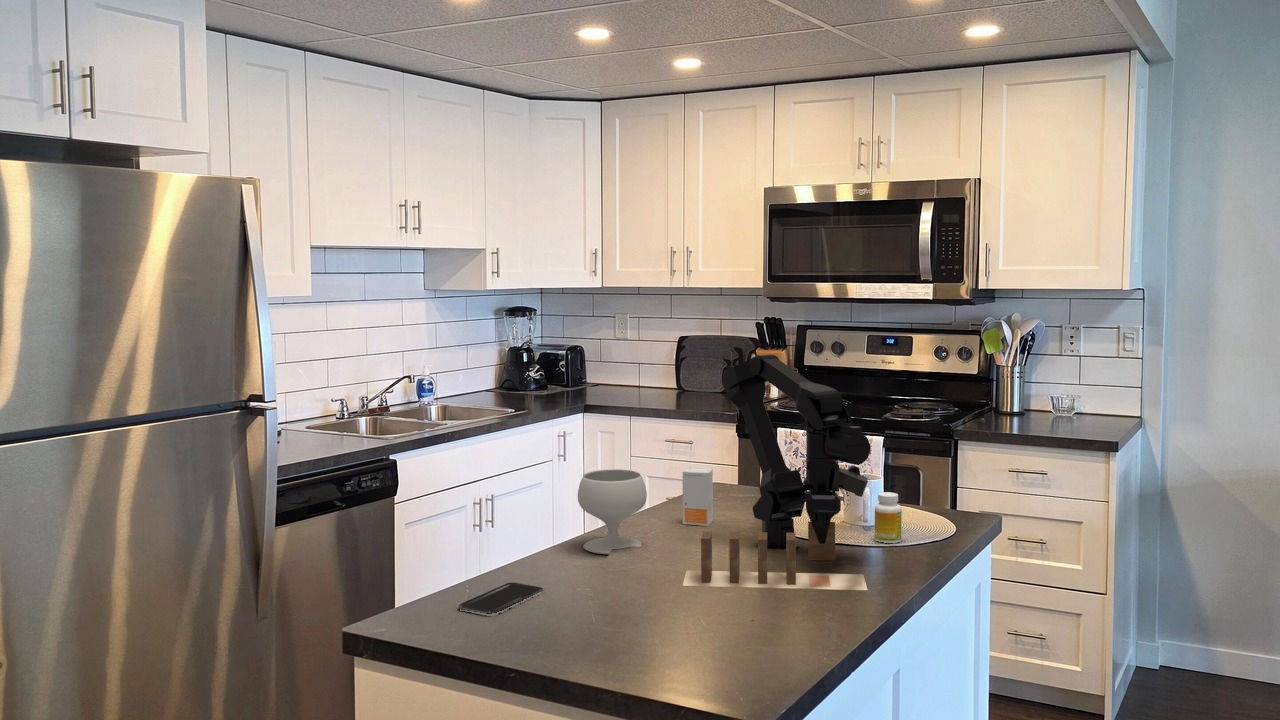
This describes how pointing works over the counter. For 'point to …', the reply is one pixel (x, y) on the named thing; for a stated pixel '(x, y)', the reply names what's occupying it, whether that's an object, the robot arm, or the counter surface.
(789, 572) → the domino
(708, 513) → the skincare box
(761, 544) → the domino
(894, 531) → the supplement bottle
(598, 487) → the chalice
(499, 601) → the phone
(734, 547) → the domino
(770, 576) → the domino board
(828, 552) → the domino
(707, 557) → the domino
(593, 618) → the counter surface
